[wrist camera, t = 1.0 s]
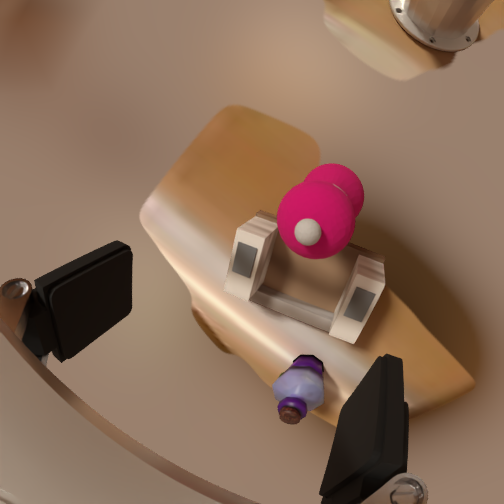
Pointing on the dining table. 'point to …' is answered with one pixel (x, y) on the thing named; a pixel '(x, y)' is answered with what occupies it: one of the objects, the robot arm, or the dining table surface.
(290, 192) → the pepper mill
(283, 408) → the potion bottle
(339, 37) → the dining table surface
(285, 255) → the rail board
